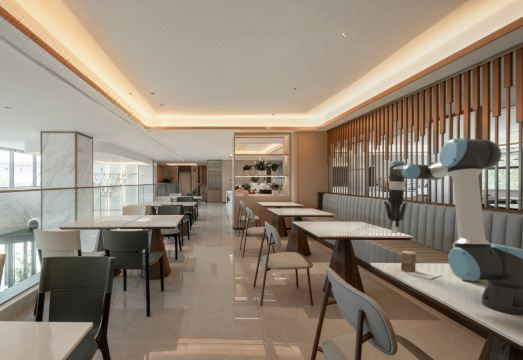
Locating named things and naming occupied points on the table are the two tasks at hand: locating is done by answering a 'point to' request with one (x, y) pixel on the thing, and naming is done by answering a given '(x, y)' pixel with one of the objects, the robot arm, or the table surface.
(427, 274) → the grey mat
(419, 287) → the table surface
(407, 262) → the bronze block
